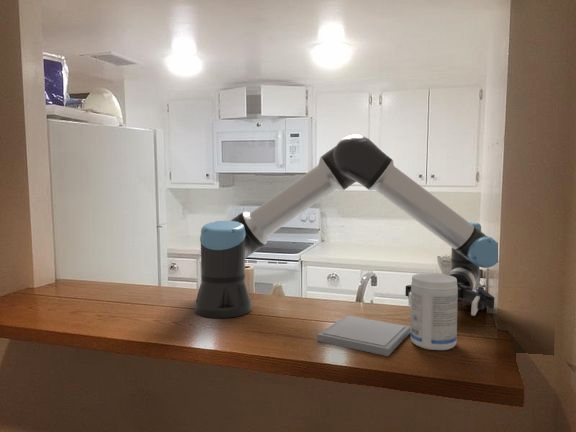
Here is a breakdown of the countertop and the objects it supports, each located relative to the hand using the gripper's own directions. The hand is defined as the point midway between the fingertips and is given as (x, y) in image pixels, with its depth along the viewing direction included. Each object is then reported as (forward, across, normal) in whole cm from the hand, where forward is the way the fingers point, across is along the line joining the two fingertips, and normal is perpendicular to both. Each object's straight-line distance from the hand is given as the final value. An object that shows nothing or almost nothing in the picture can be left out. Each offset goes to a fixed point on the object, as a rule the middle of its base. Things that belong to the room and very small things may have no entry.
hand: (440, 304), depth 101 cm
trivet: (+8, +15, -8) cm, 18 cm away
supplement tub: (+4, +1, -8) cm, 9 cm away
